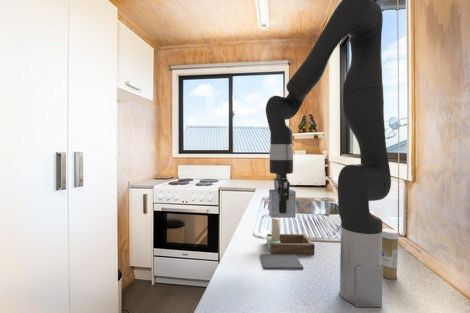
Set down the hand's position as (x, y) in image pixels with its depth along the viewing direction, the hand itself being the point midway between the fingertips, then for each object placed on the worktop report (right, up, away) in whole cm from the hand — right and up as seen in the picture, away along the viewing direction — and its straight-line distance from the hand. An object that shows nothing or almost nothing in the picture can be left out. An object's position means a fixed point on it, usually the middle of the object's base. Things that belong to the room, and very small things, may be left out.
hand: (281, 211), depth 85 cm
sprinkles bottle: (+30, -18, -8) cm, 36 cm away
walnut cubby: (+5, -17, +12) cm, 21 cm away
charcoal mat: (0, -17, 0) cm, 17 cm away
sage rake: (-1, -16, +12) cm, 20 cm away
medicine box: (0, -2, 0) cm, 2 cm away
